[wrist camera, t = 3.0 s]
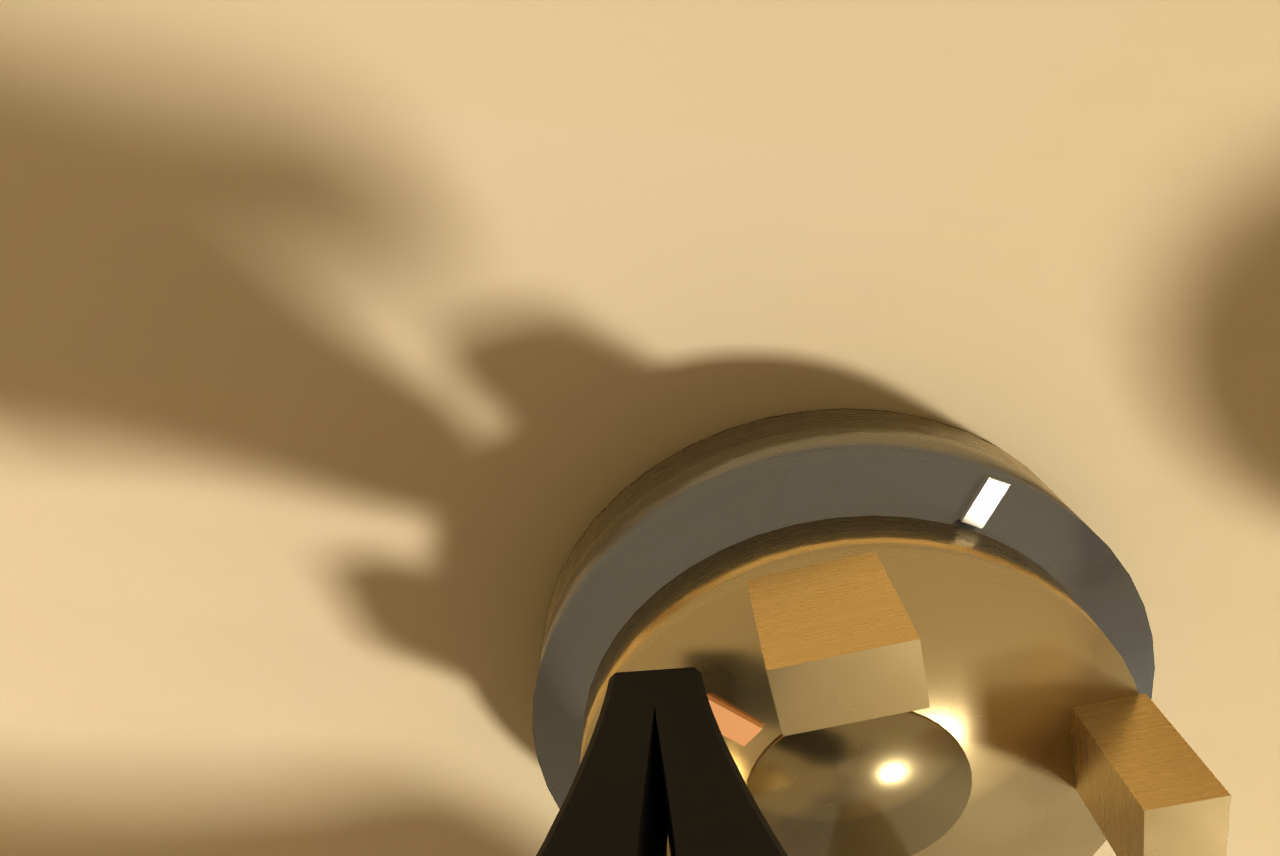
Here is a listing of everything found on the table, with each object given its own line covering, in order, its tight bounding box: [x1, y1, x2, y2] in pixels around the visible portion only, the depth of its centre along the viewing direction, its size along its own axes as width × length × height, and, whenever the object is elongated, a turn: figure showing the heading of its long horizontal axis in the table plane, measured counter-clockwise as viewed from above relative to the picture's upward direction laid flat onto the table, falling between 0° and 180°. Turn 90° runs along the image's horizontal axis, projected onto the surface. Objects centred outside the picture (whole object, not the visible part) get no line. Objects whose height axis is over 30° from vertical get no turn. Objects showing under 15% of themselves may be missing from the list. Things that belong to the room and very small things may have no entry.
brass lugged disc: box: [580, 515, 1231, 856], centre depth 13 cm, size 10×10×3 cm
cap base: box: [533, 409, 1155, 809], centre depth 16 cm, size 12×12×2 cm
